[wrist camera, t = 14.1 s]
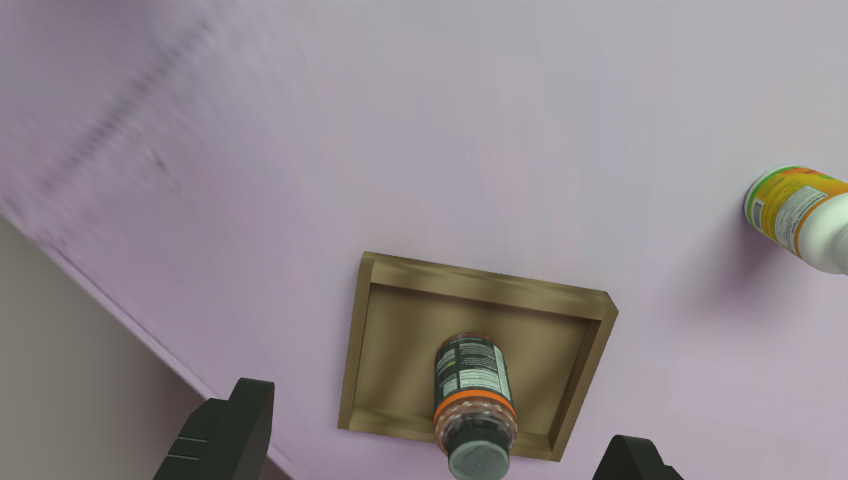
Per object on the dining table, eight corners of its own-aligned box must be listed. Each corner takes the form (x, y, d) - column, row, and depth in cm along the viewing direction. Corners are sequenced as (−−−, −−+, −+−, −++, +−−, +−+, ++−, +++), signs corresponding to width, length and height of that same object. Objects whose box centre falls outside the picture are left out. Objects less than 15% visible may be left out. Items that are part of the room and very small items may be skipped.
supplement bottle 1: (486, 393, 44) (500, 509, 34) (424, 373, 43) (418, 484, 33) (516, 342, 42) (540, 448, 31) (450, 319, 41) (453, 420, 31)
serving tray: (343, 403, 46) (337, 428, 43) (364, 251, 40) (359, 268, 37) (552, 436, 47) (559, 462, 44) (606, 291, 41) (618, 311, 38)
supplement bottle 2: (834, 189, 37) (960, 244, 28) (775, 244, 38) (876, 312, 30) (784, 149, 35) (898, 192, 27) (726, 207, 37) (815, 266, 29)
